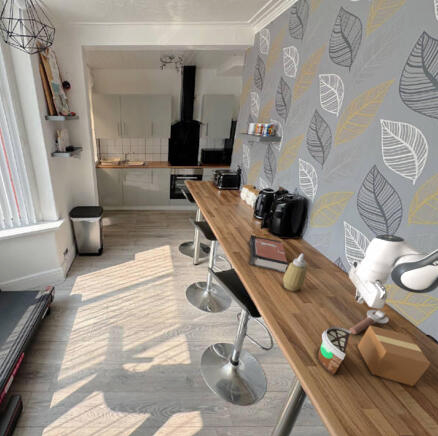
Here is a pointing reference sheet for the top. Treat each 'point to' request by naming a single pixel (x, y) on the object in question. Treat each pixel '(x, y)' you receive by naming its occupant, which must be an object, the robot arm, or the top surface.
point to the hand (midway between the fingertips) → (358, 301)
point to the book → (267, 254)
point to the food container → (333, 347)
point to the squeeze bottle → (295, 274)
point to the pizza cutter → (369, 321)
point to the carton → (392, 355)
